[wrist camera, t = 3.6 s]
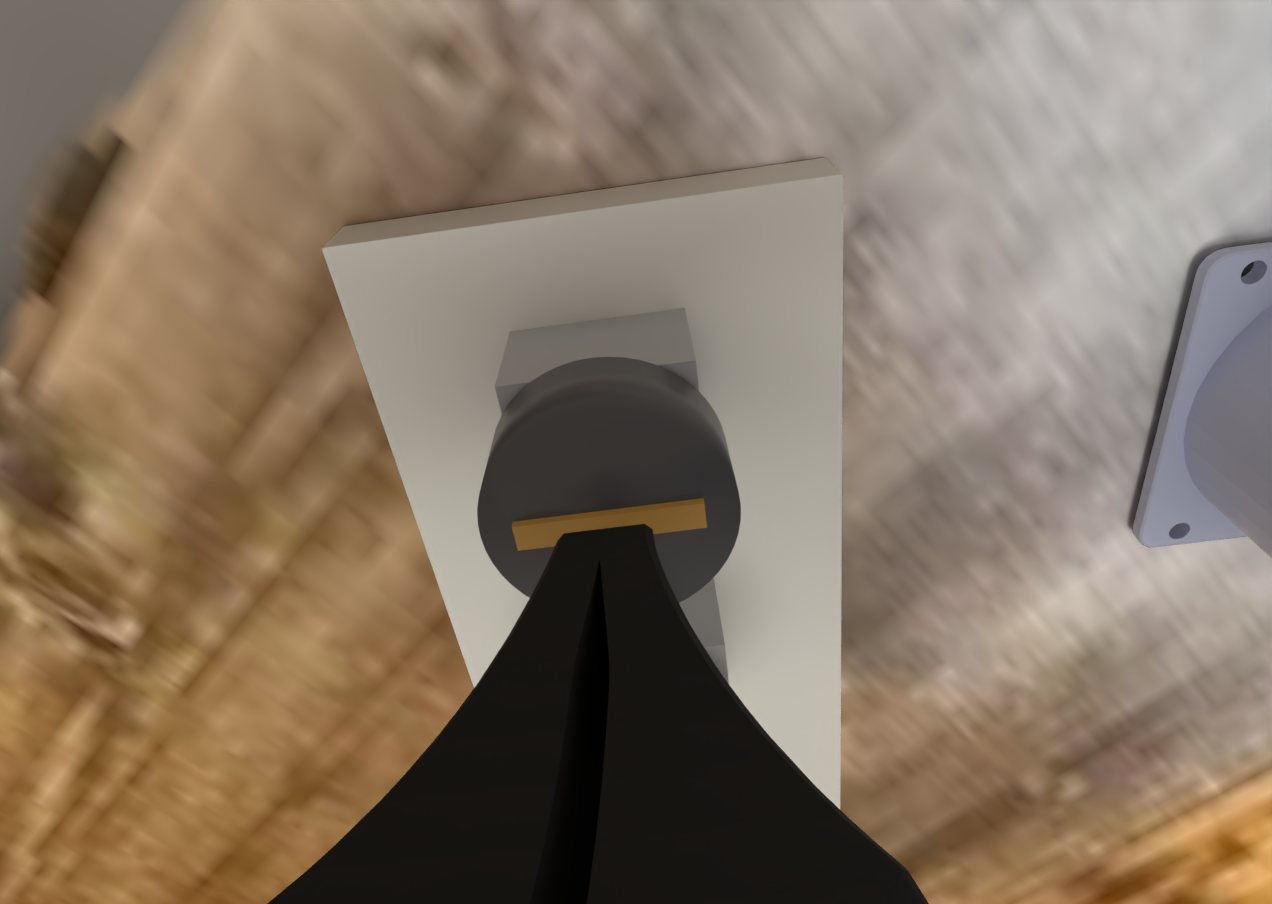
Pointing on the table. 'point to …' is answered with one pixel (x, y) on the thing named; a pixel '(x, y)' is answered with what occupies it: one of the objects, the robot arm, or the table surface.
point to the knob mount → (652, 332)
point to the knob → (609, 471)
